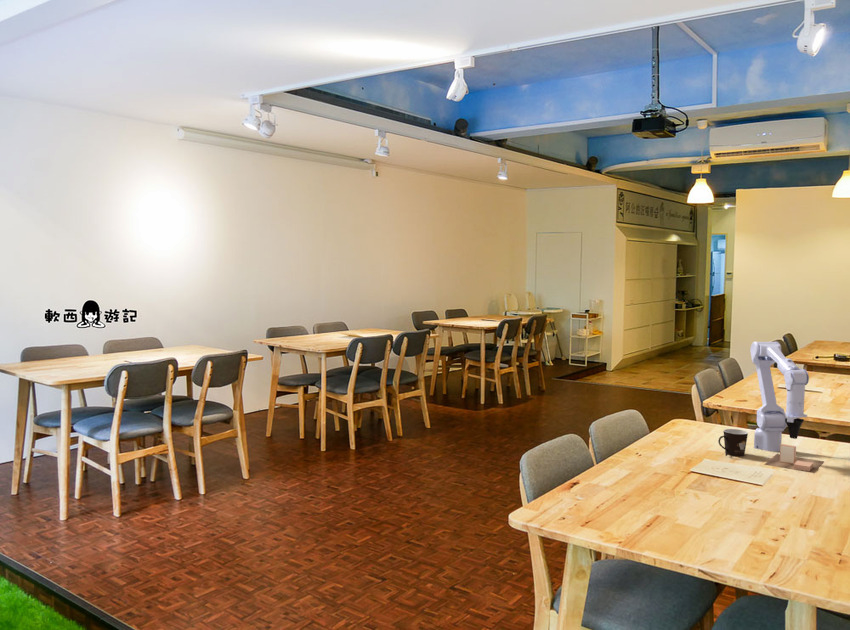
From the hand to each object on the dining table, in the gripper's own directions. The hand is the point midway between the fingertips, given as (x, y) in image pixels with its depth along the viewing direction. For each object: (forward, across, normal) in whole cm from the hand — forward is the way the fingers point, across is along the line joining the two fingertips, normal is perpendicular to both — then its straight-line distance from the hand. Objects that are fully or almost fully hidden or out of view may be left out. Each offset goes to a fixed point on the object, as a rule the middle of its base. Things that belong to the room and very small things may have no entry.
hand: (793, 438), depth 252 cm
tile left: (+8, -4, +1) cm, 10 cm away
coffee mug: (+10, -5, +20) cm, 23 cm away
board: (+10, -3, -1) cm, 10 cm away
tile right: (+8, -5, -5) cm, 10 cm away
